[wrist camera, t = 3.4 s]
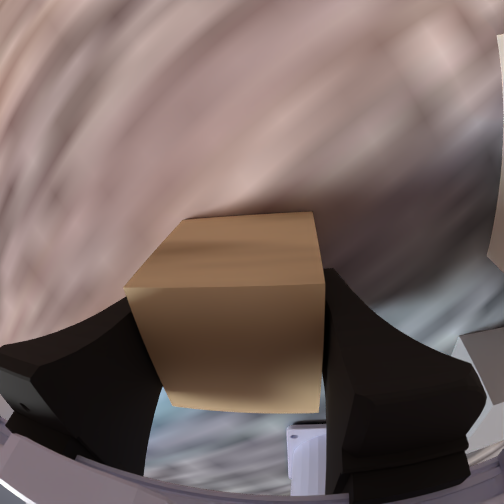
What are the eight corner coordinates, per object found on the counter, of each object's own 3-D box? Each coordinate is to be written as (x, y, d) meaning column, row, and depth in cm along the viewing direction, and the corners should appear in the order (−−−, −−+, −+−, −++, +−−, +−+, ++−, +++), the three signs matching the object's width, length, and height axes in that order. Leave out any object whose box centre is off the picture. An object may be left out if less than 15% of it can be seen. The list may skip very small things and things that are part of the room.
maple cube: (314, 320, 13) (318, 412, 9) (205, 321, 14) (172, 405, 10) (312, 211, 11) (325, 283, 7) (182, 219, 12) (123, 287, 7)
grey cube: (492, 379, 14) (517, 434, 10) (434, 393, 15) (453, 457, 11) (520, 322, 12) (558, 379, 8) (458, 334, 13) (493, 405, 8)
